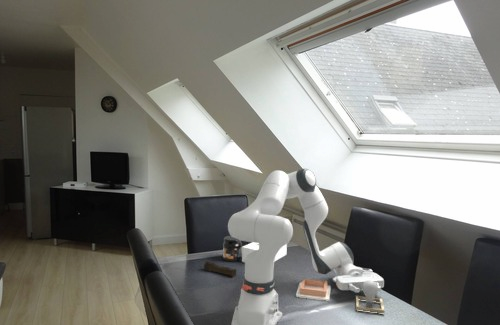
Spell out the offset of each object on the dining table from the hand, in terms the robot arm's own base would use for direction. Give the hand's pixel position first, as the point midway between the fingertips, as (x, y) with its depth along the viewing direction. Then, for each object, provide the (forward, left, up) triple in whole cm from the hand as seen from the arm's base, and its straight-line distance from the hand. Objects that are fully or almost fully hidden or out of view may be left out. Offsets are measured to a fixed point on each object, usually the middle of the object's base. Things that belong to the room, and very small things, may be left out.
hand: (368, 290), depth 144 cm
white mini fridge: (+43, +53, -7) cm, 69 cm away
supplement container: (+36, +70, -7) cm, 79 cm away
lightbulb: (-1, -1, -7) cm, 7 cm away
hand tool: (+14, +71, -7) cm, 72 cm away
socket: (+6, +22, -7) cm, 24 cm away
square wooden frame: (-1, -1, -7) cm, 7 cm away
